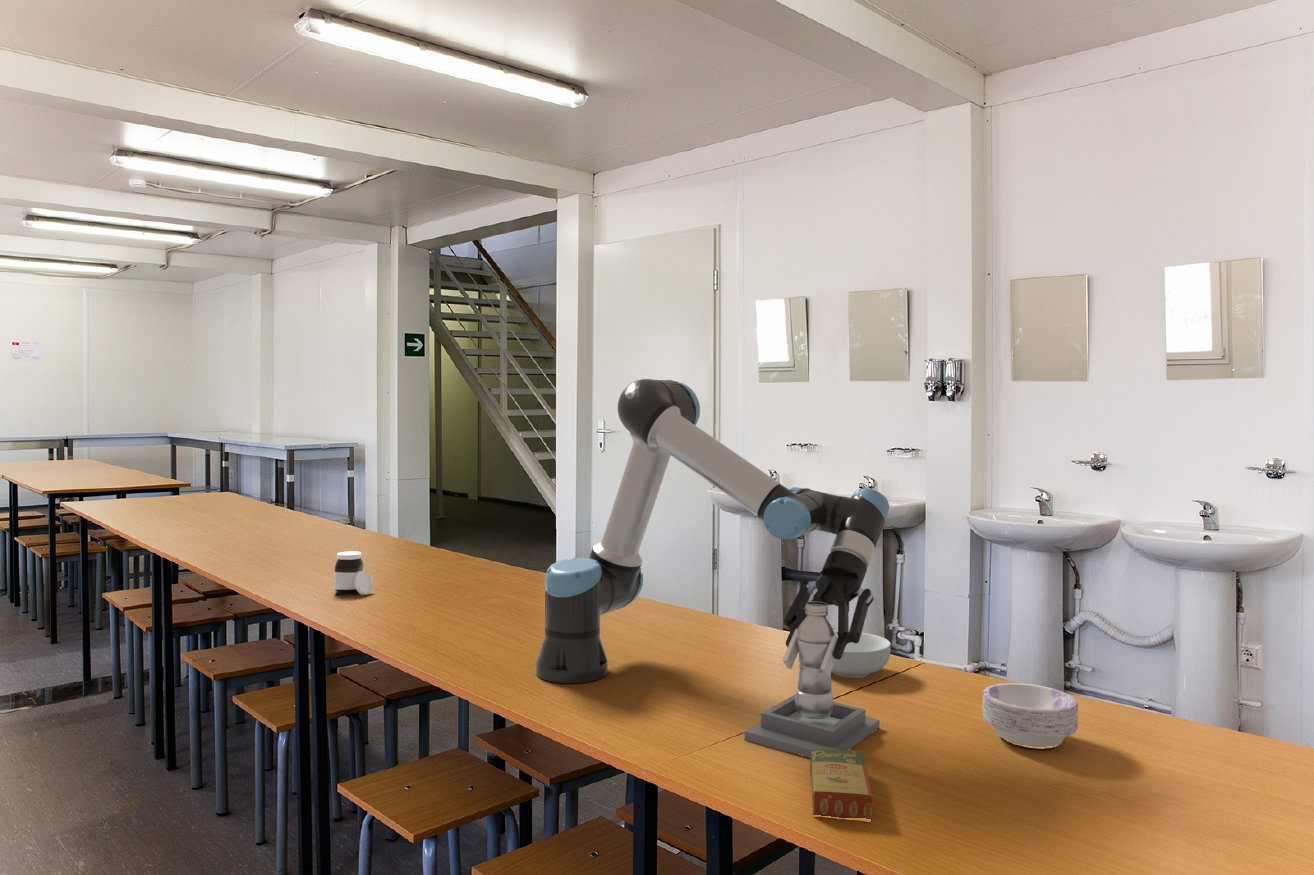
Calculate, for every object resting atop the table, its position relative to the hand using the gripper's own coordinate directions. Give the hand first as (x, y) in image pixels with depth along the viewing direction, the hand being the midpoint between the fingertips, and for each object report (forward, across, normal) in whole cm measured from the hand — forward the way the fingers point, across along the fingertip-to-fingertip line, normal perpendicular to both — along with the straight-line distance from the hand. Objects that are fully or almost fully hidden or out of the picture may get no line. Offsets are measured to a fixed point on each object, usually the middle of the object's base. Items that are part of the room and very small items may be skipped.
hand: (805, 668), depth 147 cm
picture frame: (+6, 0, -11) cm, 13 cm away
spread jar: (-3, +156, -21) cm, 157 cm away
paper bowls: (-9, -30, -27) cm, 41 cm away
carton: (+20, -14, +2) cm, 24 cm away
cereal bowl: (-20, +10, -38) cm, 44 cm away
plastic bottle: (+4, 0, -9) cm, 10 cm away
